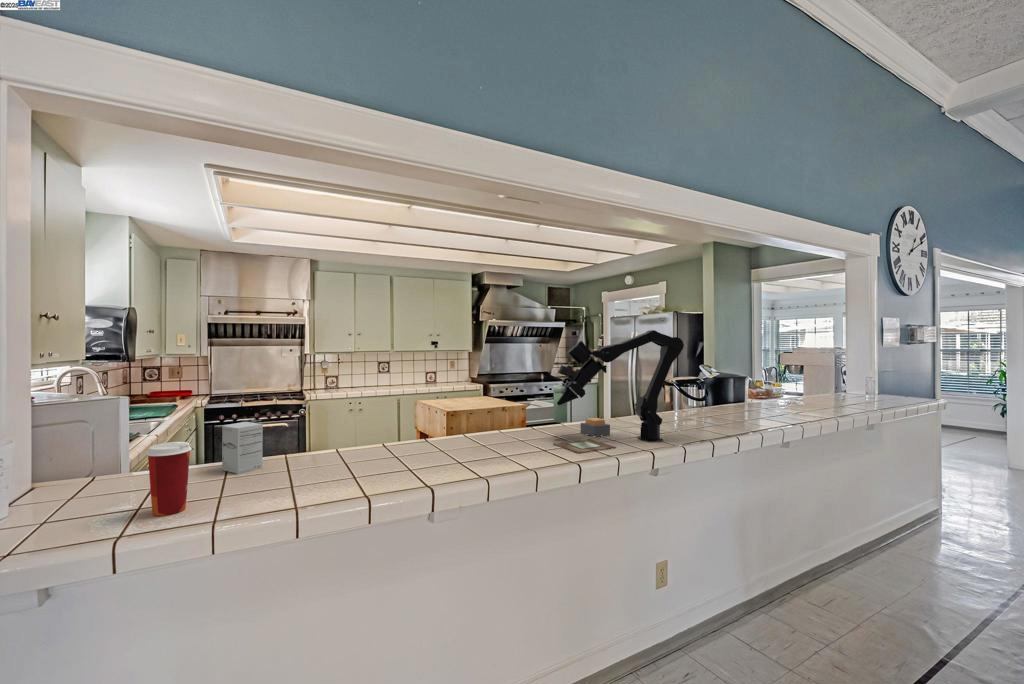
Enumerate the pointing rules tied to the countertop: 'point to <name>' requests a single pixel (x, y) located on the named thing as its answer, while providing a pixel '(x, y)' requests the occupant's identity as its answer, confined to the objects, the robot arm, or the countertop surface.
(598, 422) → the button
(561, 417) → the green capped bottle
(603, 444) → the picture board
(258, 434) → the supplement box
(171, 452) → the paper cup
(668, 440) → the countertop surface
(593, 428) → the button box
